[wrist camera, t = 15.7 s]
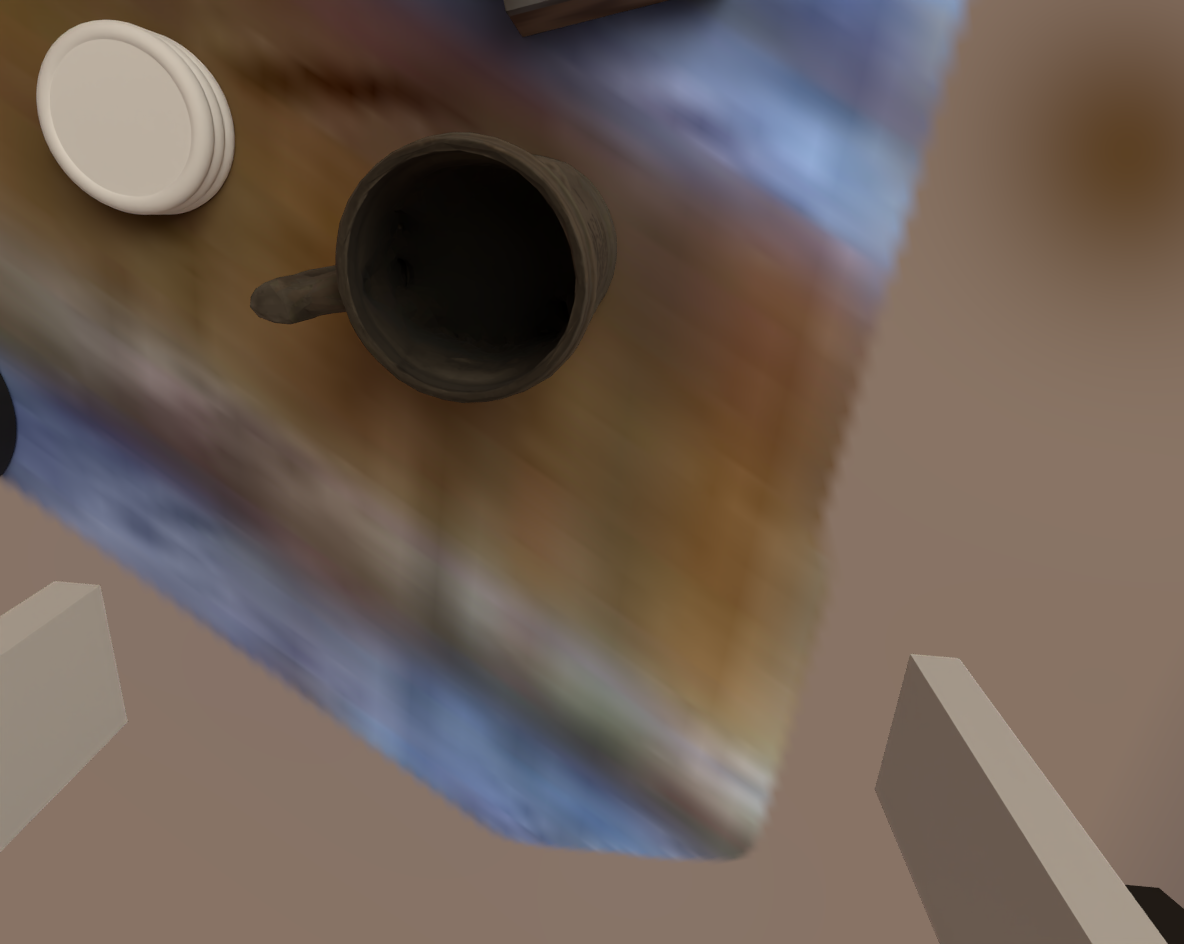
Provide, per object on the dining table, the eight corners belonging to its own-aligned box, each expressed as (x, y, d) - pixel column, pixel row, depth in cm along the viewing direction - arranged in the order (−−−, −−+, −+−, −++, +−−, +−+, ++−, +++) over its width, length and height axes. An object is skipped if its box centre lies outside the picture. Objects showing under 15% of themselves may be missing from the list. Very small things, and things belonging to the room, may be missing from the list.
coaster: (113, -7, 41) (68, -26, 38) (266, 105, 43) (236, 96, 39) (52, 147, 44) (5, 143, 41) (197, 246, 46) (164, 250, 42)
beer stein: (598, 124, 42) (530, 69, 23) (650, 302, 45) (626, 379, 27) (369, 210, 45) (149, 221, 27) (432, 370, 48) (277, 479, 30)
